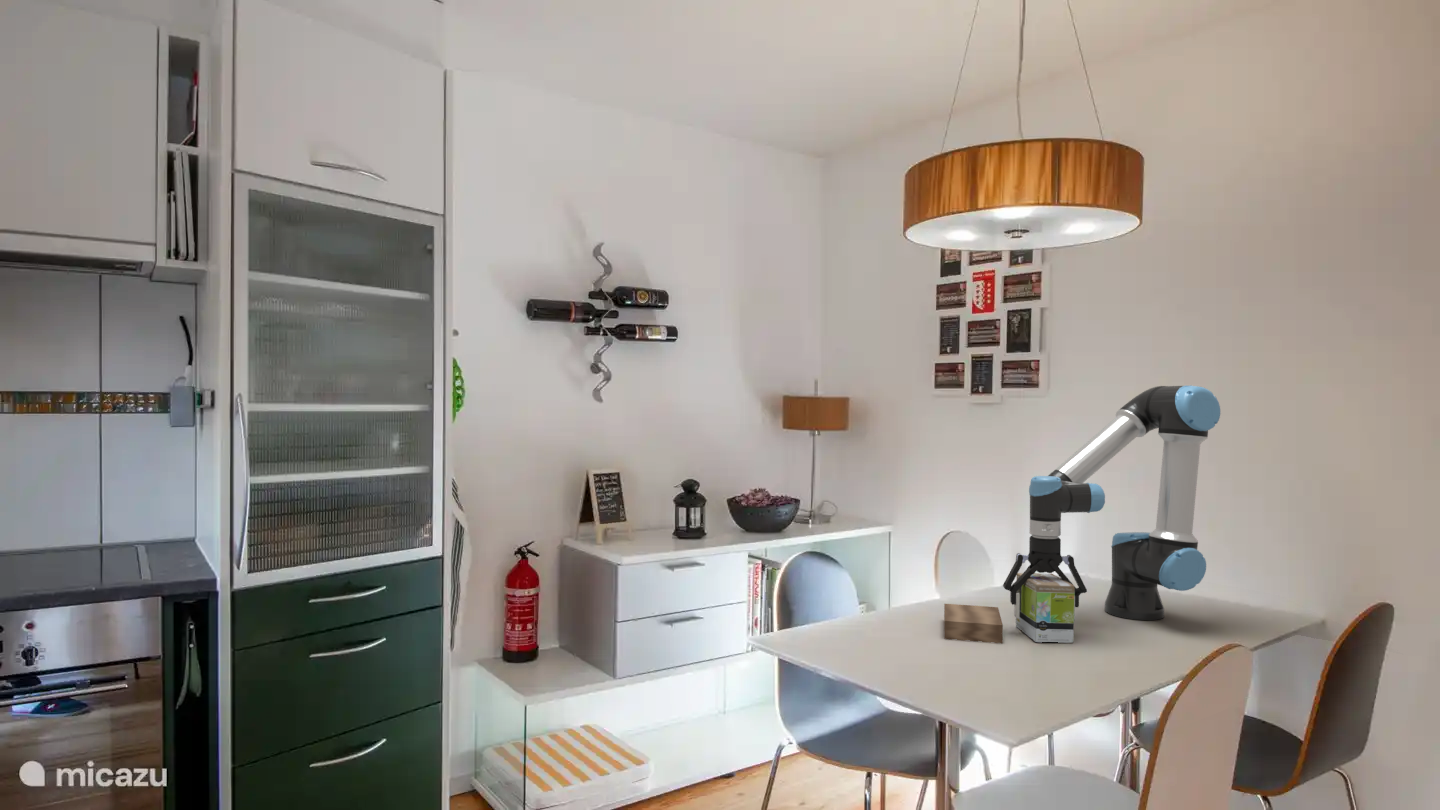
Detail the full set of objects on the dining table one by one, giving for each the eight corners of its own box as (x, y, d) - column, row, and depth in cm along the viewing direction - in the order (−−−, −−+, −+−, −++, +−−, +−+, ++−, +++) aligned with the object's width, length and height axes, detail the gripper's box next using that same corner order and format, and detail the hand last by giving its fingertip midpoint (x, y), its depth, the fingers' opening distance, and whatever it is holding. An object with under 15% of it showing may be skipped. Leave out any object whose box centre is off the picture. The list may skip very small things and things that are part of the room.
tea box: (1075, 643, 208) (1076, 584, 208) (1034, 643, 208) (1035, 584, 208) (1052, 627, 223) (1052, 571, 223) (1014, 626, 223) (1014, 571, 223)
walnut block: (997, 625, 225) (998, 607, 225) (1002, 645, 208) (1002, 625, 208) (944, 621, 229) (944, 603, 229) (944, 640, 212) (944, 620, 212)
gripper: (997, 537, 214) (996, 619, 214) (1100, 540, 210) (1099, 624, 210) (992, 532, 221) (991, 612, 221) (1091, 535, 217) (1090, 616, 217)
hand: (1044, 618), depth 216 cm, fingers open, 13 cm apart
